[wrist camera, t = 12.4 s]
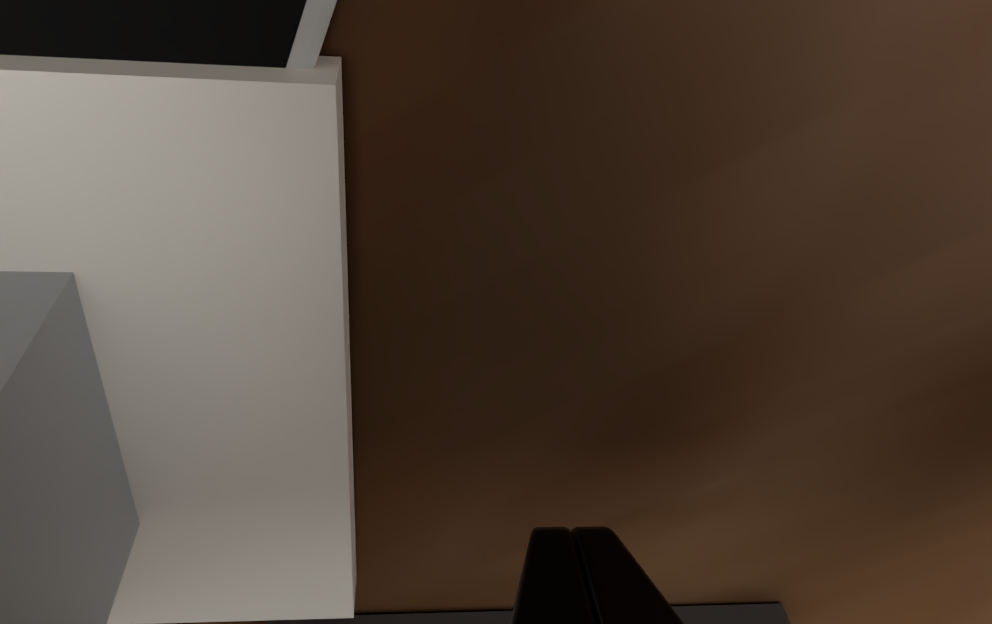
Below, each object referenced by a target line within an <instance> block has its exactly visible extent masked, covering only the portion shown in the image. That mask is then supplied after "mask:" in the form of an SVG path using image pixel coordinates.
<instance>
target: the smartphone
mask: <svg viewBox="0 0 992 624" xmlns="http://www.w3.org/2000/svg"><path fill="white" fill-rule="evenodd" d="M336 2H337V0H0V55H19V56H40V57H62V58H83V59H104V60H125V61H146V62H167V63H189V64H210V65H231V66H252V67H273V68H315V65H316V62H317V59H318V56H319V53H320V50H321V47H322V44H323V41H324V38H325V35H326V32H327V29H328V26H329V23H330V20H331V17H332V14H333V11H334V8H335V5H336Z"/></svg>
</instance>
